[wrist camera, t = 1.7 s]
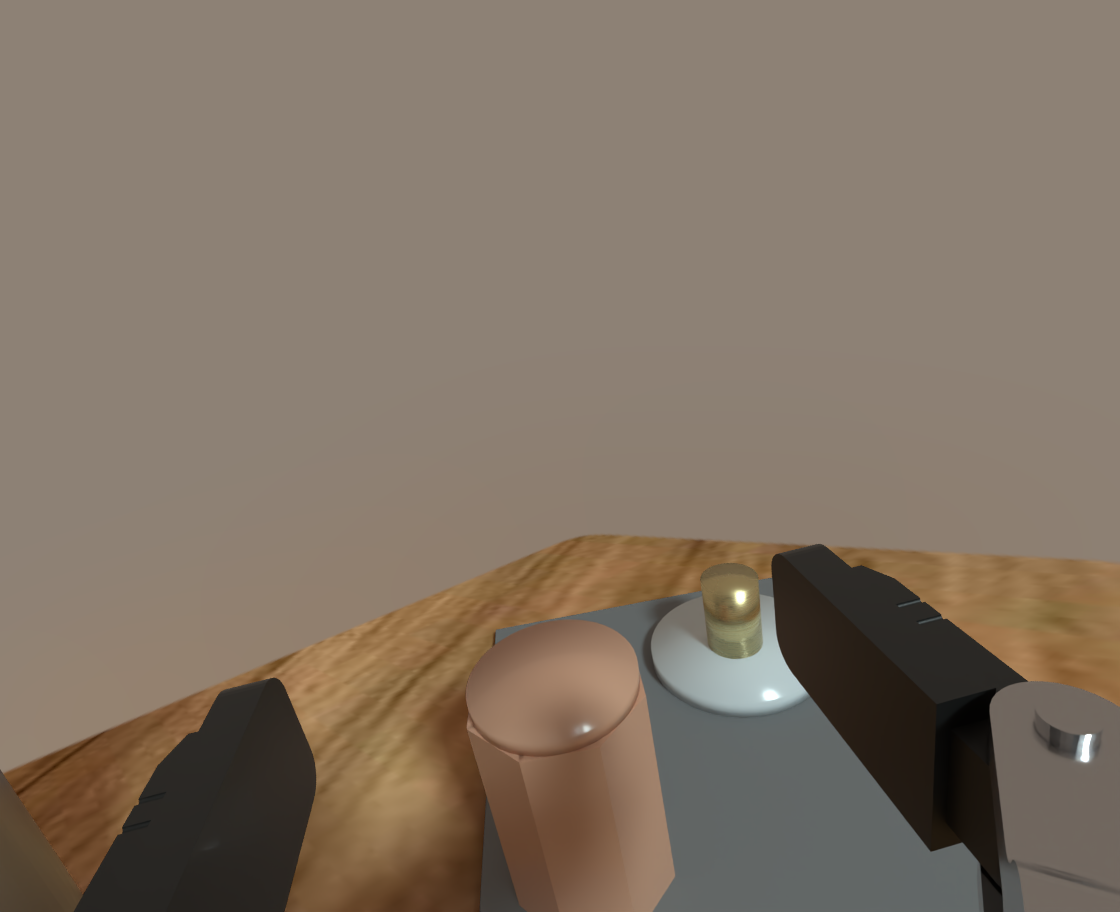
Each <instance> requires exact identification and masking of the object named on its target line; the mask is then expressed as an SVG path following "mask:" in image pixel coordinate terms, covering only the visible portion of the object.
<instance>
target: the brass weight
mask: <svg viewBox="0 0 1120 912" xmlns="http://www.w3.org/2000/svg"><path fill="white" fill-rule="evenodd" d="M700 580H701V589H702V598H703V606H704V615H705V624H706V633H707V642H708V646H709V648H710V649H711V650H712V651H713V652H714V653H716V654H717V655H719V656H722V657H725V658H729V659H743V658H748V657H750V656H753V655H755V654H756V653H757V652H759V651H760V649H761V648H762V645H763V635H762V622H761V608H760V595H759V582H758V575H757V573H756V572H755V571H754V570H753V569H752V568H750V567H748V566H745V565H742V564H736V563H724V564H718V565H715V566H712V567H710V568H708V569H707V570H705V571H704V572H703V573H702V575H701V579H700Z"/></svg>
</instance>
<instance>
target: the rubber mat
mask: <svg viewBox="0 0 1120 912" xmlns="http://www.w3.org/2000/svg"><path fill="white" fill-rule="evenodd" d="M758 582H759V594H761V595H765V596H769V597H773V598H774V596H773V582H772V578H768V579H763V580H758ZM698 597H702V591H699V592H694V593H688V594H683V595H678V596H673V597H667V598H662V599H657V600H651V601H646V602H641V603H636V604H630V605H625V606H620V607H614V608H609V609H604V610H598V611H593V612H588V613H583V614H577V615H572V616H567V617H561V618H556V619H551V620H546V621H540V622H535V623H530V624H524V625H519V626H514V627H509V628H503V629H498V630H496V638H495V644H497V643H498V642H500V641H501V640H503V639H504V638H506V637H507V636H509V635H511V634H513V633H515V632H517V631H519V630H522V629H524V628H527V627H530V626H533V625H536V624H540V623H544V622H549V621H555V620H585V621H591V622H596V623H599V624H602V625H605V626H607V627H609V628H612V629H613V630H615V631H617V632H618V633H620V634H621V635H622V636H623V637H625V638H626V640H627V641H628V642H629V643H630V644H631V646H632V647H633V649H634V651H635V654H636V656H637V661H638V667H639V672H640V676H641V679H642V683H643V687H644V690H645V694H646V699H647V705H648V711H649V718H650V724H651V730H652V736H653V742H654V748H655V754H656V760H657V767H658V773H659V779H660V785H661V791H662V797H663V803H664V810H665V816H666V822H667V828H668V834H669V840H670V846H671V853H672V859H673V865H674V871H675V877H674V879H673V881H672V882H671V884H670V885H669V887H668V888H667V890H666V891H665V893H664V895H663V896H662V898H661V899H660V901H659V902H658V904H657V905H656V907H655V909H654V910H653V912H979V902H978V889H977V865H978V860H977V859H976V858H975V857H974V856H973V854H972V853H971V852H970V851H969V850H968V848H967V847H966V846H965V845H964V844H963V843H959V844H956V845H953V846H949V847H946V848H942V849H939V850H936V851H932V852H930V850H929V849H928V848H927V846H926V845H925V844H924V843H923V841H922V840H921V839H920V837H919V836H918V835H917V834H916V832H915V831H914V830H913V828H912V827H911V826H910V825H909V823H908V822H907V821H906V819H905V818H904V817H903V815H902V814H901V813H900V812H899V810H898V809H897V808H896V806H895V805H894V804H893V803H892V801H891V800H890V799H889V797H888V796H887V795H886V794H885V792H884V791H883V790H882V788H881V787H880V786H879V785H878V783H877V782H876V781H875V779H874V778H873V777H872V775H871V774H870V773H869V772H868V770H867V769H866V768H865V766H864V765H863V764H862V763H861V761H860V760H859V759H858V757H857V756H856V755H855V754H854V752H853V751H852V750H851V748H850V747H849V746H848V745H847V743H846V742H845V741H844V739H843V738H842V737H841V735H840V734H839V733H838V732H837V730H836V729H835V728H834V726H833V725H832V724H831V723H830V721H829V720H828V719H827V717H826V716H825V715H824V714H823V712H822V711H821V710H820V708H819V707H818V706H817V705H816V703H815V702H814V701H813V699H812V698H811V697H809V698H807V699H806V700H805V701H803V702H802V703H800V704H798V705H796V706H795V707H793V708H791V709H788V710H785V711H783V712H780V713H776V714H772V715H768V716H761V717H750V718H737V717H726V716H720V715H715V714H711V713H707V712H704V711H701V710H698V709H696V708H693V707H691V706H689V705H687V704H685V703H683V702H682V701H680V700H679V699H677V698H676V697H675V696H673V695H672V694H671V693H670V692H669V691H668V690H667V689H666V688H665V687H664V686H663V685H662V683H661V682H660V680H659V678H658V677H657V674H656V672H655V669H654V664H653V658H652V652H651V640H652V635H653V633H654V630H655V628H656V627H657V625H658V623H659V622H660V621H661V620H662V618H663V617H664V616H665V615H667V614H668V613H669V612H670V611H671V610H673V609H674V608H676V607H677V606H679V605H681V604H683V603H685V602H687V601H690V600H692V599H695V598H698ZM480 912H527V911H526V910H525V909H523V908H522V907H521V906H520V905H519V902H518V899H517V895H516V892H515V889H514V885H513V882H512V879H511V875H510V872H509V869H508V865H507V862H506V859H505V855H504V852H503V849H502V845H501V842H500V839H499V835H498V832H497V829H496V825H495V822H494V819H493V815H492V812H491V809H490V805H489V802H488V799H487V795H486V810H485V827H484V844H483V861H482V878H481V895H480Z"/></svg>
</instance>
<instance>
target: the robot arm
mask: <svg viewBox="0 0 1120 912" xmlns="http://www.w3.org/2000/svg"><path fill="white" fill-rule="evenodd" d="M771 566H772V582H773V596H774V610H775V624H776V635H777V640H778V644H779V647H780V650H781V653H782V656H783V658H784V660H785V662H786V664H787V666H788V668H789V669H790V671H791V672H792V674H793V675H794V676H795V677H796V679H797V680H798V681H799V683H800V684H801V685H802V686H803V688H804V689H805V690H806V692H807V693H808V694H809V695H810V697H811V698H812V699H813V701H814V702H815V703H816V705H817V706H818V707H819V708H820V710H821V711H822V712H823V714H824V715H825V716H826V717H827V719H828V720H829V721H830V723H831V724H832V725H833V726H834V728H835V729H836V730H837V732H838V733H839V734H840V735H841V737H842V738H843V739H844V741H845V742H846V743H847V745H848V746H849V747H850V748H851V750H852V751H853V752H854V754H855V755H856V756H857V757H858V759H859V760H860V761H861V763H862V764H863V765H864V766H865V768H866V769H867V770H868V772H869V773H870V774H871V775H872V777H873V778H874V779H875V781H876V782H877V783H878V785H879V786H880V787H881V788H882V790H883V791H884V792H885V794H886V795H887V796H888V797H889V799H890V800H891V801H892V803H893V804H894V805H895V806H896V808H897V809H898V810H899V812H900V813H901V814H902V815H903V817H904V818H905V819H906V821H907V822H908V823H909V825H910V826H911V827H912V828H913V830H914V831H915V832H916V834H917V835H918V836H919V837H920V839H921V840H922V841H923V843H924V844H925V845H926V846H927V848H928V849H929V850H930V852H932V851H936V850H939V849H942V848H946V847H949V846H953V845H956V844H959V843H963V844H964V845H965V846H966V847H967V848H968V850H969V851H970V852H971V853H972V854H973V856H974V857H975V858H976V859H977V860H978V865H977V889H978V902H979V912H1120V707H1119V706H1117V705H1115V704H1113V703H1112V702H1110V701H1108V700H1106V699H1104V698H1102V697H1100V696H1098V695H1096V694H1093V693H1090V692H1088V691H1085V690H1082V689H1079V688H1076V687H1072V686H1068V685H1063V684H1059V683H1052V682H1038V681H1031V682H1028V681H1027V680H1026V679H1024V678H1023V677H1022V676H1020V675H1019V674H1018V673H1017V672H1015V671H1014V670H1013V669H1011V668H1010V667H1009V666H1007V665H1006V664H1005V663H1004V662H1002V661H1001V660H1000V659H998V658H997V657H996V656H994V655H993V654H992V653H991V652H989V651H988V650H987V649H985V648H984V647H983V646H982V645H980V644H979V643H978V642H976V641H975V640H974V639H972V638H971V637H970V636H969V635H967V634H966V633H965V632H963V631H962V630H961V629H959V628H958V627H957V626H956V625H954V624H953V623H952V622H950V621H949V620H948V619H943V618H942V616H941V614H940V613H939V612H937V611H936V610H935V609H933V608H932V607H931V606H930V605H928V604H927V603H926V602H923V603H922V602H921V601H920V598H919V597H918V596H917V595H915V594H914V593H913V592H911V591H910V590H909V589H907V588H906V587H905V586H904V585H902V584H901V583H900V582H898V581H897V580H896V579H894V578H892V577H889V576H887V575H884V574H882V573H879V572H877V571H874V570H872V569H869V568H867V567H864V566H862V565H861V566H857V567H853V568H851V567H850V566H849V565H847V564H846V563H845V562H844V561H843V560H841V559H840V558H839V557H838V556H837V555H835V554H834V553H833V552H832V551H831V550H829V549H828V548H827V547H825V546H824V545H822V544H816V545H812V546H808V547H804V548H800V549H796V550H792V551H787V552H783V553H779V554H776V555H775V556H774V557H773V559H772V565H771ZM315 790H316V769H315V762H314V758H313V754H312V751H311V749H310V746H309V744H308V742H307V739H306V737H305V734H304V732H303V730H302V727H301V725H300V723H299V720H298V718H297V715H296V713H295V711H294V708H293V706H292V704H291V701H290V699H289V696H288V694H287V692H286V689H285V687H284V685H283V684H282V682H281V681H280V680H278V679H277V678H270V679H266V680H262V681H258V682H254V683H250V684H246V685H242V686H238V687H234V688H230V689H226V690H223V691H222V692H220V694H219V695H218V696H217V698H216V700H215V701H214V703H213V705H212V707H211V709H210V711H209V713H208V715H207V716H206V718H205V720H204V722H203V724H202V726H201V728H200V730H199V731H198V732H194V733H190V734H188V735H187V736H186V737H185V738H184V739H183V740H182V741H181V742H180V743H179V744H178V745H177V746H176V747H175V748H174V749H173V750H172V751H171V752H170V753H169V754H168V756H167V757H166V758H165V759H164V760H163V761H162V762H161V763H160V764H159V765H158V766H157V768H156V769H155V771H154V773H153V775H152V776H151V778H150V780H149V782H148V783H147V785H146V787H145V789H144V790H143V792H142V794H141V795H140V797H139V805H136V806H134V808H133V809H132V811H131V813H130V815H129V816H128V818H127V820H126V822H125V823H124V825H123V827H122V829H123V832H122V834H120V835H117V837H116V839H115V841H114V842H113V844H112V846H111V848H110V849H109V851H108V853H107V854H106V856H105V858H104V860H103V861H102V863H101V865H100V867H99V868H98V870H97V872H96V874H95V875H94V877H93V879H92V880H91V882H90V884H89V886H88V887H87V889H86V891H85V893H84V894H82V892H81V891H80V889H79V888H78V886H77V885H76V883H75V882H74V880H73V879H72V877H71V876H70V874H69V873H68V871H67V869H66V867H65V866H64V865H63V863H62V862H61V860H60V859H59V857H58V856H57V854H56V853H55V851H54V850H53V848H52V847H51V845H50V844H49V842H48V841H47V839H46V838H45V836H44V835H43V833H42V832H41V830H40V829H39V827H38V826H37V824H36V823H35V821H34V820H33V818H32V817H31V815H30V814H29V812H28V811H27V809H26V808H25V806H24V805H23V803H22V802H21V800H20V799H19V797H18V796H17V794H16V793H15V791H14V790H13V788H12V787H11V785H10V784H9V782H8V781H7V779H6V778H5V776H4V775H3V773H2V772H1V770H0V912H284V911H285V907H286V904H287V900H288V896H289V892H290V888H291V884H292V881H293V877H294V873H295V869H296V865H297V862H298V858H299V854H300V850H301V846H302V842H303V839H304V835H305V831H306V827H307V823H308V819H309V816H310V812H311V808H312V804H313V800H314V796H315Z"/></svg>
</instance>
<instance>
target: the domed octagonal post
mask: <svg viewBox="0 0 1120 912" xmlns="http://www.w3.org/2000/svg"><path fill="white" fill-rule="evenodd" d="M466 702H467V707H468V710H469V712H468V721H467V732H468V735H469V739H470V742H471V745H472V749H473V752H474V755H475V759H476V762H477V765H478V769H479V772H480V775H481V779H482V782H483V785H484V789H485V792H486V795H487V799H488V802H489V805H490V809H491V812H492V815H493V819H494V822H495V825H496V829H497V832H498V835H499V839H500V842H501V845H502V849H503V852H504V855H505V859H506V862H507V865H508V869H509V872H510V875H511V879H512V882H513V885H514V889H515V892H516V895H517V899H518V902H519V905H520V906H521V907H522V908H523V909H525V910H526V911H527V912H653V910H654V909H655V907H656V905H657V904H658V902H659V901H660V899H661V898H662V896H663V895H664V893H665V891H666V890H667V888H668V887H669V885H670V884H671V882H672V881H673V879H674V877H675V871H674V865H673V859H672V853H671V846H670V840H669V834H668V828H667V822H666V816H665V810H664V803H663V797H662V791H661V785H660V779H659V773H658V767H657V760H656V754H655V748H654V742H653V736H652V730H651V724H650V718H649V711H648V705H647V699H646V694H645V690H644V687H643V683H642V679H641V676H640V672H639V667H638V661H637V656H636V654H635V651H634V649H633V647H632V646H631V644H630V643H629V642H628V641H627V640H626V638H625V637H623V636H622V635H621V634H620V633H618V632H617V631H615V630H613V629H612V628H609V627H607V626H605V625H602V624H599V623H596V622H591V621H585V620H555V621H549V622H544V623H540V624H536V625H533V626H530V627H527V628H524V629H522V630H519V631H517V632H515V633H513V634H511V635H509V636H507V637H506V638H504V639H503V640H501V641H500V642H498V643H497V644H495V645H494V646H493V647H492V648H491V649H489V650H488V651H487V652H486V653H485V654H484V655H483V656H482V657H481V659H480V660H479V661H478V662H477V664H476V665H475V667H474V668H473V670H472V672H471V674H470V677H469V679H468V682H467V687H466Z"/></svg>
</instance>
